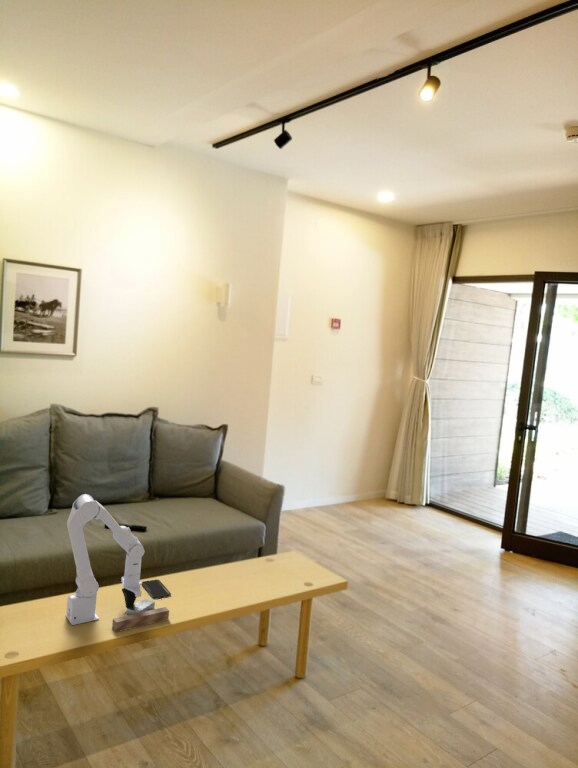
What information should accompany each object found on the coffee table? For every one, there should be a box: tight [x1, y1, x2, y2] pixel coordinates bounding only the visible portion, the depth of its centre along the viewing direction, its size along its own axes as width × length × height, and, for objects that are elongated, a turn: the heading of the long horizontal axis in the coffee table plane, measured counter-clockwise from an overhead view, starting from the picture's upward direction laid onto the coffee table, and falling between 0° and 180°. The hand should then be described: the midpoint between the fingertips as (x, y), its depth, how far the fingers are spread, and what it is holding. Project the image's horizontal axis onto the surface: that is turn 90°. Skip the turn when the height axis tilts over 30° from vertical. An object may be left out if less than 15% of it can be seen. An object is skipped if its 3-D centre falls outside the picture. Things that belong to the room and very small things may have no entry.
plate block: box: [126, 597, 156, 616], centre depth 208 cm, size 10×5×3 cm, turn 158°
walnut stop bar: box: [111, 606, 170, 633], centre depth 199 cm, size 20×3×4 cm, turn 128°
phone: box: [141, 579, 171, 600], centre depth 227 cm, size 8×1×15 cm
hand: (129, 607), depth 208 cm, fingers closed
